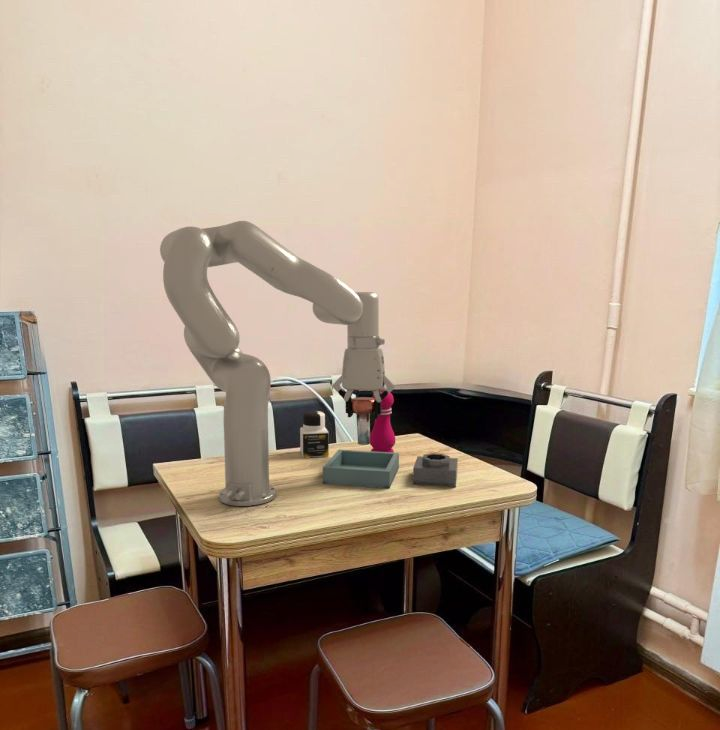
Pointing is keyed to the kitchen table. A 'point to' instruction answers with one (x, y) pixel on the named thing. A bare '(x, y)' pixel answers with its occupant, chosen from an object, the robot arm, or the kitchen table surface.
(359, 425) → the rounded copper knob
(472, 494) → the kitchen table surface
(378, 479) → the tray
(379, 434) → the pepper mill
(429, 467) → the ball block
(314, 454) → the medicine bottle
